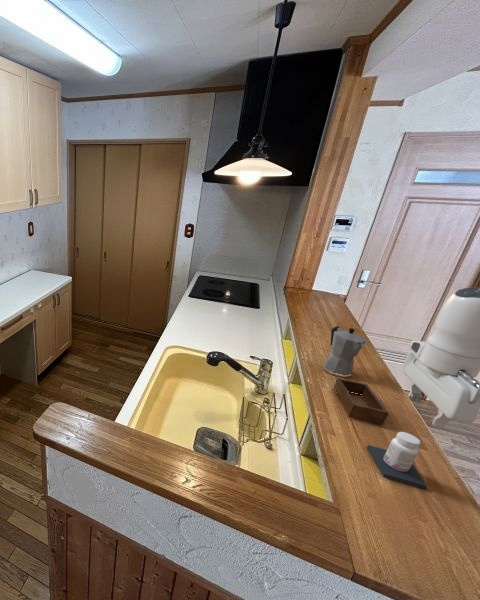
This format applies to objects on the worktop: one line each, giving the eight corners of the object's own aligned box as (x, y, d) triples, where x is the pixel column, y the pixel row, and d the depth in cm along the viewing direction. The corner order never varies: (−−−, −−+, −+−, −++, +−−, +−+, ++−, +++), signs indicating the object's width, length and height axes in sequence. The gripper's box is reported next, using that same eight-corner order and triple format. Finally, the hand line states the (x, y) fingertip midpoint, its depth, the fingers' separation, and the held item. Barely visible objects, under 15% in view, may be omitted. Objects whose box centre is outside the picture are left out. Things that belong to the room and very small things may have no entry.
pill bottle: (412, 469, 79) (427, 442, 76) (402, 474, 77) (416, 447, 74) (389, 454, 83) (402, 428, 80) (378, 459, 81) (391, 433, 79)
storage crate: (362, 395, 109) (367, 384, 107) (383, 425, 95) (388, 412, 94) (333, 388, 112) (337, 377, 110) (348, 416, 98) (353, 404, 96)
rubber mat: (404, 457, 84) (405, 454, 83) (425, 489, 75) (427, 486, 75) (366, 447, 86) (368, 444, 86) (383, 476, 78) (384, 473, 77)
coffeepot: (361, 382, 116) (380, 338, 110) (334, 380, 117) (351, 335, 111) (334, 360, 130) (349, 319, 124) (310, 358, 131) (323, 317, 125)
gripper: (507, 390, 60) (473, 448, 65) (441, 343, 78) (418, 391, 82) (461, 381, 62) (432, 438, 67) (407, 338, 80) (387, 385, 85)
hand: (424, 411), depth 75 cm, fingers open, 8 cm apart
